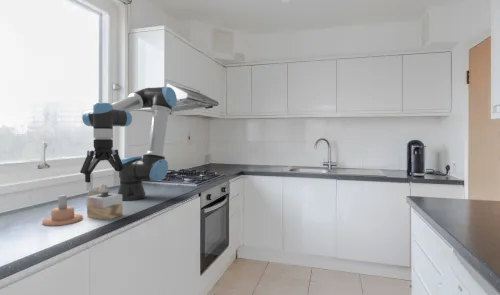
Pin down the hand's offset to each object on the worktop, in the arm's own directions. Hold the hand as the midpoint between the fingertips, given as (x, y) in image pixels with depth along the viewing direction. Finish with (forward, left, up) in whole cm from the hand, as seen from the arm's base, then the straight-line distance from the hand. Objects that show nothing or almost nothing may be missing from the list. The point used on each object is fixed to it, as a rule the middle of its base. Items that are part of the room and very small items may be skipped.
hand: (103, 187), depth 129 cm
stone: (-9, -14, -13) cm, 21 cm away
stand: (0, 0, -13) cm, 13 cm away
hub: (+12, -10, -13) cm, 20 cm away
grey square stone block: (0, 0, -8) cm, 8 cm away
